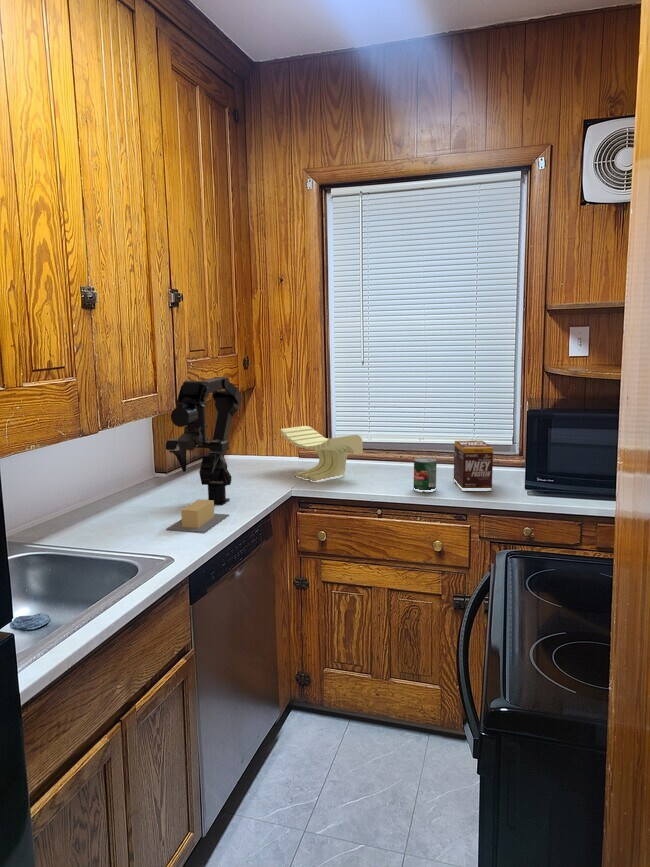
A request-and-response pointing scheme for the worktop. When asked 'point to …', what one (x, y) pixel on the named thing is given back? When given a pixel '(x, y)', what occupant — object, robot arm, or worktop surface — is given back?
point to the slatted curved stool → (324, 451)
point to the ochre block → (197, 513)
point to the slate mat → (202, 528)
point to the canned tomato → (425, 473)
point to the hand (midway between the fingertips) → (198, 472)
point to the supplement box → (473, 464)
